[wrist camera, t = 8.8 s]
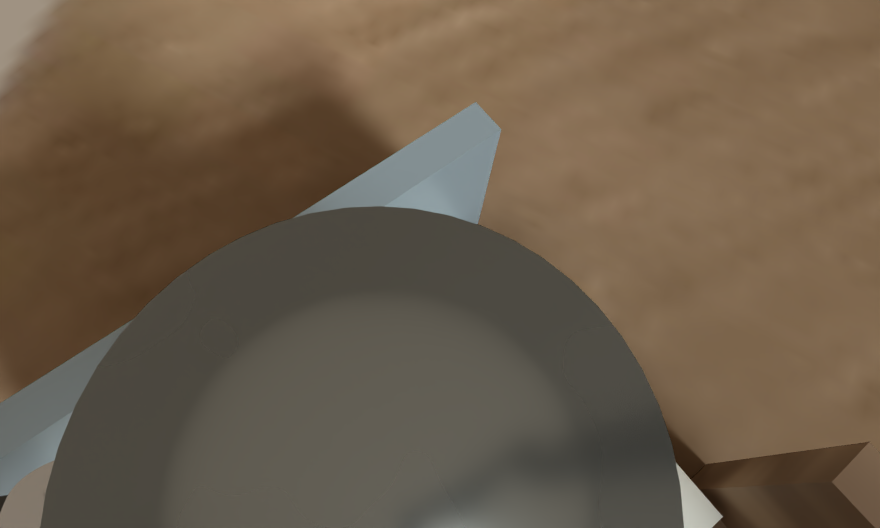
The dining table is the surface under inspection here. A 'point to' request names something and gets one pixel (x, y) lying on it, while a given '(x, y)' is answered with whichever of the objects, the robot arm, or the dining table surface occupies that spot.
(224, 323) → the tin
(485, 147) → the grey drawer
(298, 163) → the dining table surface
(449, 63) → the dining table surface
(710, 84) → the dining table surface
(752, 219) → the dining table surface
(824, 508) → the wooden drawer box
